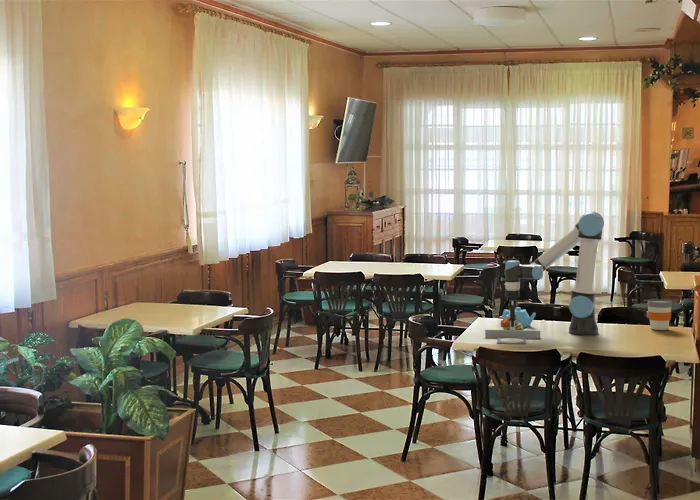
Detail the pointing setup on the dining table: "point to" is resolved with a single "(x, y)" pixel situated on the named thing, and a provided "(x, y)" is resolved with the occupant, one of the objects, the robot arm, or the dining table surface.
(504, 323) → the cheeseburger
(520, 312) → the teapot
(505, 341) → the mat
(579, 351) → the dining table surface
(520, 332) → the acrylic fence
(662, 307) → the reusable coffee cup
